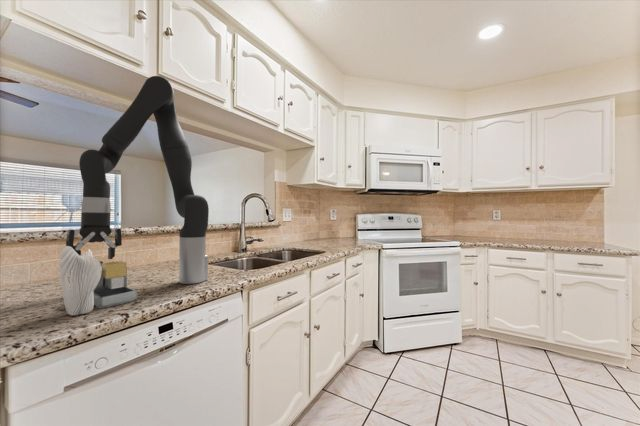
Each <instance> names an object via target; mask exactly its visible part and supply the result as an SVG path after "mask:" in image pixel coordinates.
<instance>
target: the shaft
mask: <svg viewBox="0 0 640 426" xmlns="http://www.w3.org/2000/svg"><path fill="white" fill-rule="evenodd" d="M98 261H99V262H100V264H101V267H102V263H104V261H102V260H98ZM103 285H104V286H106V287H108V288H110V289H115V288H120V287H124V277H123V276H121V277H114V278H108V279H105V278H103Z"/></svg>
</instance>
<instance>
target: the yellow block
mask: <svg viewBox="0 0 640 426" xmlns="http://www.w3.org/2000/svg"><path fill="white" fill-rule="evenodd" d="M126 267H127V261H122V260H119V261H110V262H109V261H108V262H103V263H102V271H101V277H103V278H105V279H108V278H114V277H121V276H126Z"/></svg>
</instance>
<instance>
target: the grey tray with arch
mask: <svg viewBox="0 0 640 426" xmlns="http://www.w3.org/2000/svg"><path fill="white" fill-rule="evenodd" d="M123 277H124V287H120V288H115V289H110V288H108V287H106V286H104V285H103V277H100V280H99V282H98V284H97V286H96V288H95V289H94V290H93V292H94V306H95V307H96V308H98V309H99V310H100V309H106V308H109V307H110V308H111V307H114V306H118V305H123V304H128V303H132V302H136V301H138V290H137V289H134V288H132V287H130V286H128V282H127V281H128V280H127V279H128V267H127V266H126V276H123Z"/></svg>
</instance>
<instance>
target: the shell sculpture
mask: <svg viewBox="0 0 640 426" xmlns="http://www.w3.org/2000/svg"><path fill="white" fill-rule="evenodd" d="M93 254H94V253H93V251H92V250H91V249H90V248H88V249H87V251H85V253H82V254H81V255H78V253H77V252H76V251H75V250H74V249H73V248H72V247H70V246H66V245H65V247H64V248H63V249H62V250H61V251H60V254H59V256H60V257H59V258H60V262H59V268H58V273H59V280H60V286H61V289H62V297H63V304H64V308H65V312H66V313H67V314H68V315H69V316H73V317H74V316H77V315H83V314H88V313H90V312H92V311H93V310H94V306H95V305H94V292H93V290H94V289H95V288H96V286H97V284H98V282H99V280H100V277H101V271H102V267H101V264H100V262H99V261H100V260H98V259H96V258H94V255H93ZM69 276H70V277H69Z"/></svg>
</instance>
